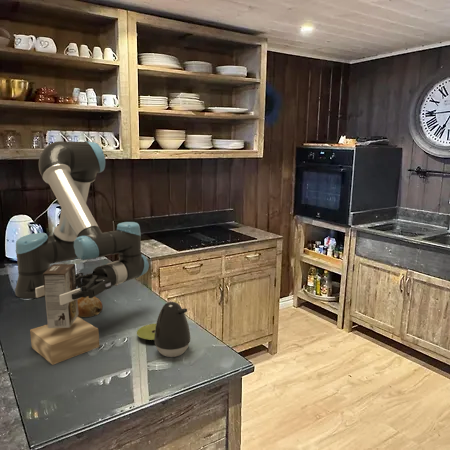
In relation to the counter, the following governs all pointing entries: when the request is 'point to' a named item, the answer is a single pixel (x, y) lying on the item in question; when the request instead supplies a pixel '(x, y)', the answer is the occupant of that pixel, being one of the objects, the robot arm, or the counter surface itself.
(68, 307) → the coffee box
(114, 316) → the counter surface
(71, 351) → the oak block
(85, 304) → the bread roll
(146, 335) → the green textured disc
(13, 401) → the counter surface
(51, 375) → the counter surface
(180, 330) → the pump dispenser
